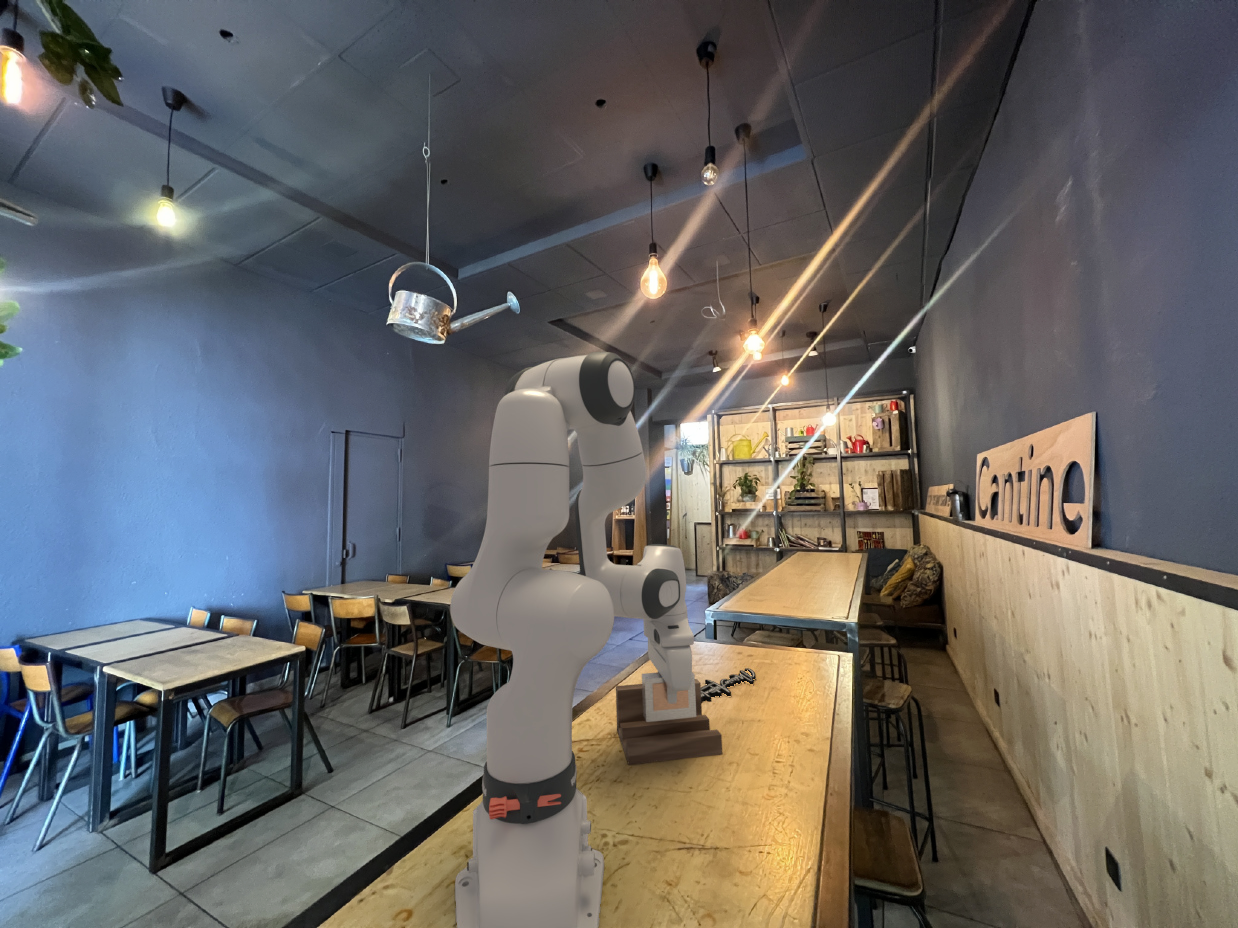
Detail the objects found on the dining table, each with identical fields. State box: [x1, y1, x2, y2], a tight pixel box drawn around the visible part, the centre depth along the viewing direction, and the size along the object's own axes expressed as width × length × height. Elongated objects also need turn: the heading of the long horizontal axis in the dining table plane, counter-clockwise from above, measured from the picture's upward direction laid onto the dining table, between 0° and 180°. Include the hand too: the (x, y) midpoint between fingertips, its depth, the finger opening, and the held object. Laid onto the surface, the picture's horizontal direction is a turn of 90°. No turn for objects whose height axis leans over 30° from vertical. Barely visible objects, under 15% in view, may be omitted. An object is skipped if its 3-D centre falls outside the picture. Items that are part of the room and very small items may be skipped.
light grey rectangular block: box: [641, 671, 696, 722], centre depth 94 cm, size 3×10×8 cm, turn 99°
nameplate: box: [701, 667, 757, 705], centre depth 123 cm, size 27×2×10 cm
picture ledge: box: [615, 678, 723, 766], centre depth 96 cm, size 14×18×9 cm
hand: (668, 697), depth 94 cm, fingers closed on light grey rectangular block, 3 cm apart
